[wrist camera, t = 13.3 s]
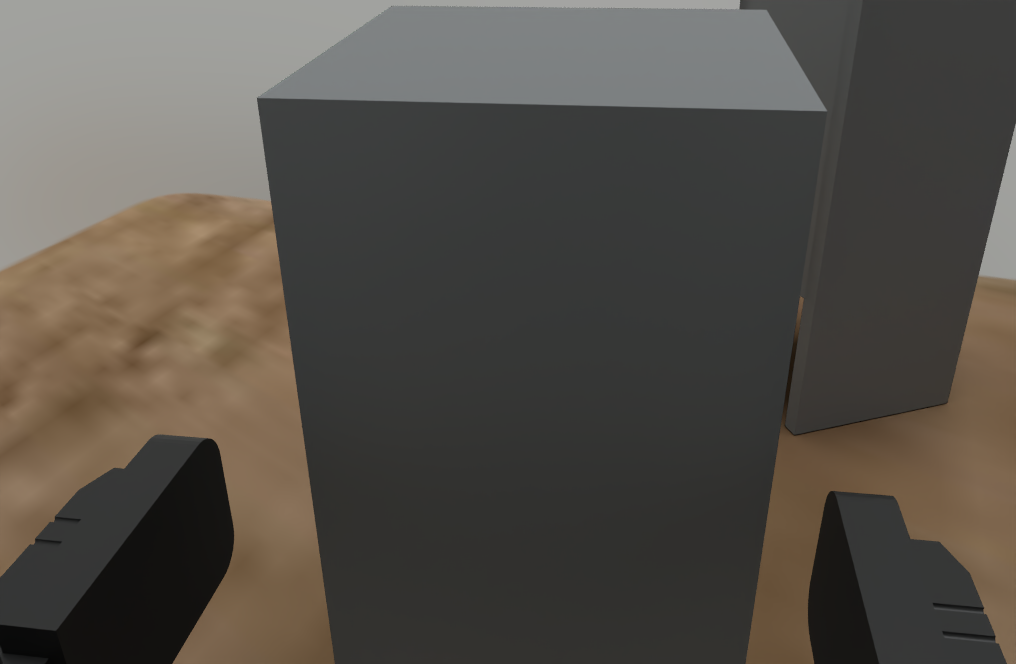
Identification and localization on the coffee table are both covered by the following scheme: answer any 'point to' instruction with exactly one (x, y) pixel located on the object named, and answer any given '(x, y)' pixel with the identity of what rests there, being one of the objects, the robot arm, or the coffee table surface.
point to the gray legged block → (543, 324)
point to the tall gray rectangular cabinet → (896, 194)
